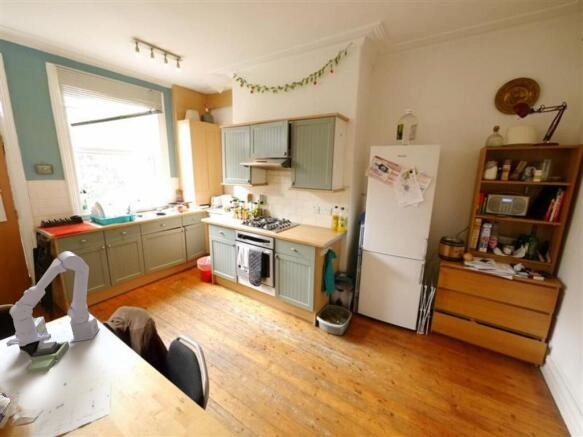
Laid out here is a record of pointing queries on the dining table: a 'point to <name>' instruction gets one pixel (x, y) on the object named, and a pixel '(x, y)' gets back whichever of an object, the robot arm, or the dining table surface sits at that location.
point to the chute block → (47, 349)
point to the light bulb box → (38, 329)
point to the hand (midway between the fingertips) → (34, 355)
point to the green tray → (47, 359)
